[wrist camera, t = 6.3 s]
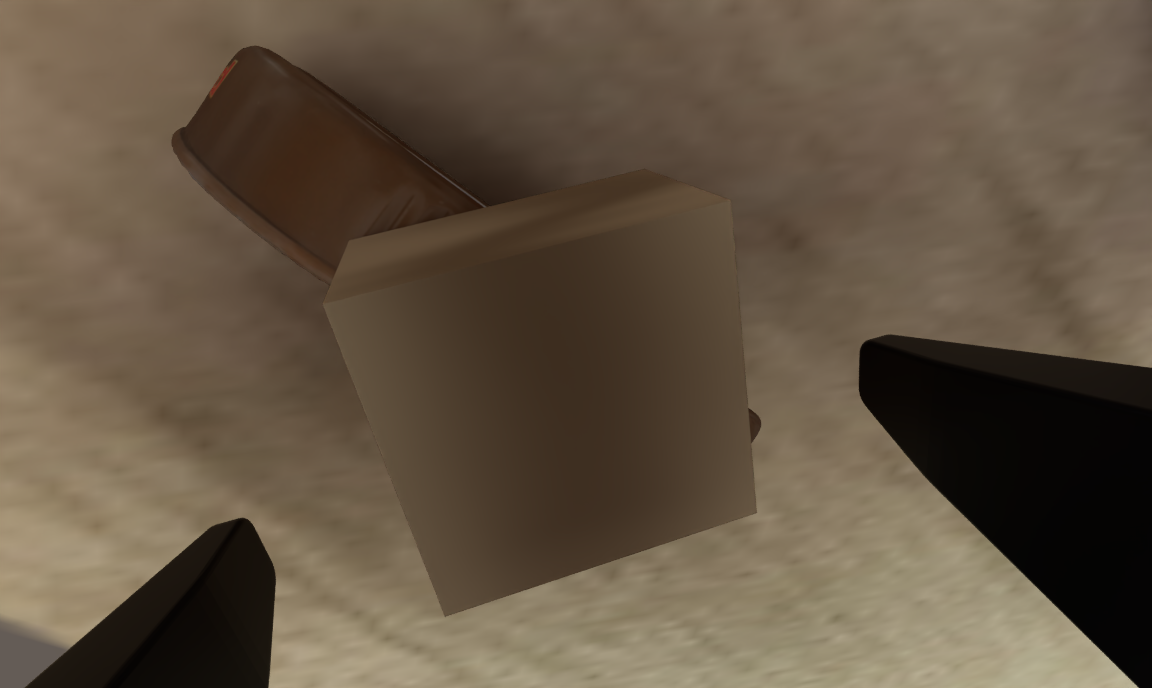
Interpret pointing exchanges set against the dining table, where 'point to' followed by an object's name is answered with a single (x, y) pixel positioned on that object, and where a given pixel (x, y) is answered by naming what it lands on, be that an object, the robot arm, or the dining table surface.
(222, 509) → the dining table surface
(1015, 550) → the robot arm
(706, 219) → the oak block
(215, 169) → the tin
